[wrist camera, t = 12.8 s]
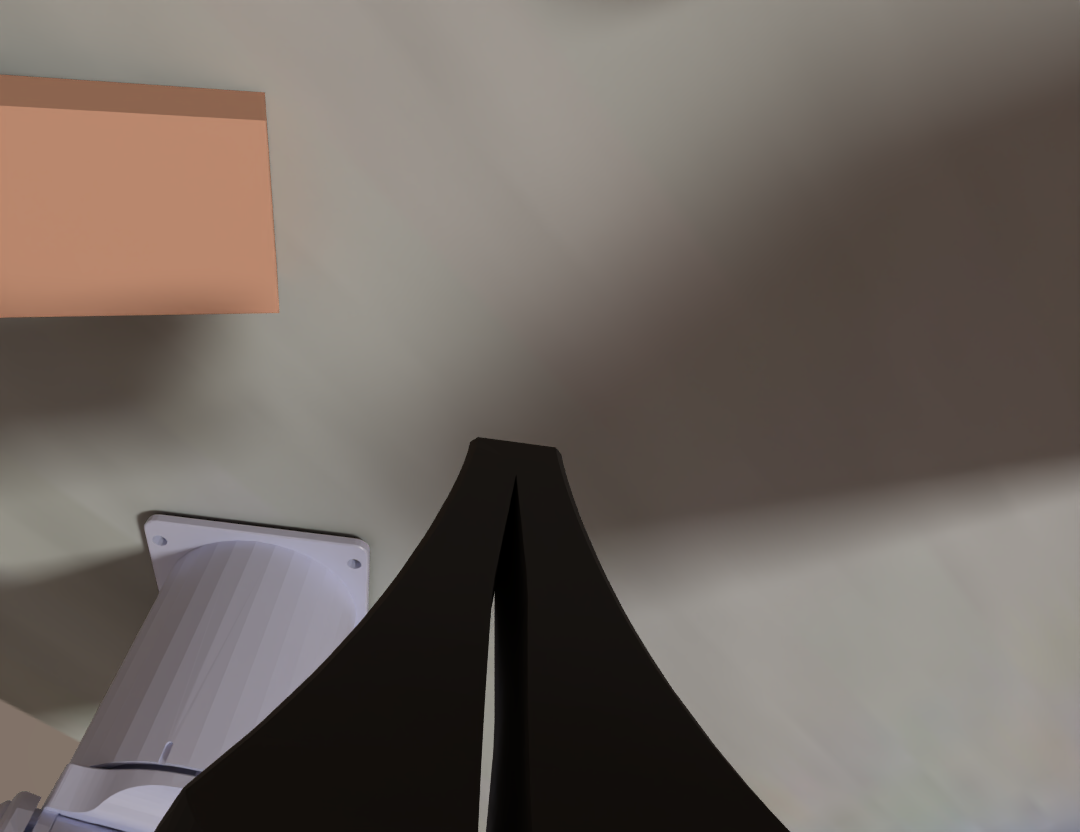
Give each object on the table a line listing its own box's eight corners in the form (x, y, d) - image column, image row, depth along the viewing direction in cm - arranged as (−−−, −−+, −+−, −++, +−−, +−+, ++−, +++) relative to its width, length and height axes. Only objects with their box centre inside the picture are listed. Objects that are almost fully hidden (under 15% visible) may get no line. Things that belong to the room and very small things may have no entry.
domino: (279, 313, 20) (-139, 320, 17) (277, 275, 22) (-109, 276, 19) (265, 120, 17) (-244, 91, 14) (264, 92, 18) (-198, 61, 16)
